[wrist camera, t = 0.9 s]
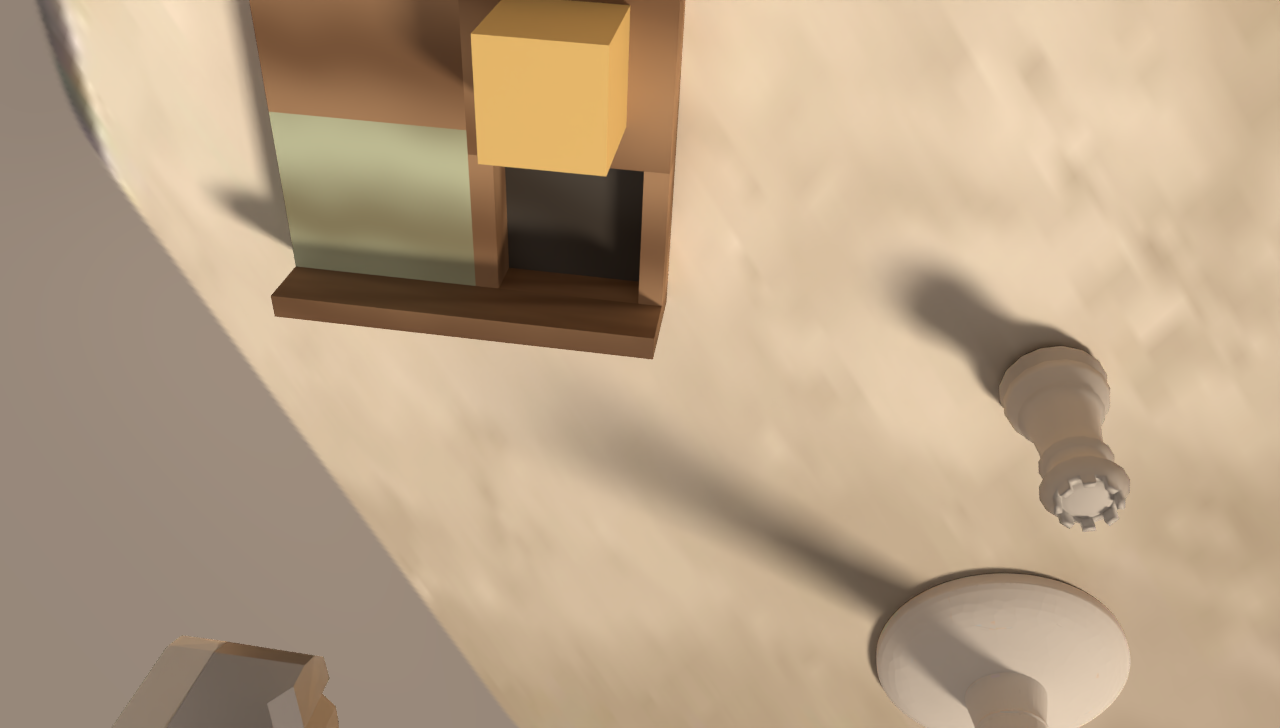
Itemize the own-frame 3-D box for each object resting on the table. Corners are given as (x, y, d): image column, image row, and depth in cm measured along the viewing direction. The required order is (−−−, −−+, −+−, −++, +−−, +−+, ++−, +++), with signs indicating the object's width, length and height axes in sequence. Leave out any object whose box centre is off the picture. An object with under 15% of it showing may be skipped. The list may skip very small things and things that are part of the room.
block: (505, -5, 37) (470, 33, 33) (630, 5, 36) (609, 45, 33) (509, 115, 39) (477, 164, 36) (626, 126, 39) (606, 176, 35)
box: (224, -315, 34) (152, -310, 31) (703, -289, 33) (688, -281, 29) (317, 264, 47) (275, 316, 43) (666, 301, 45) (652, 359, 42)
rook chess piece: (975, 378, 45) (1001, 501, 39) (1064, 321, 43) (1107, 441, 37) (1037, 439, 47) (1072, 567, 40) (1126, 385, 45) (1179, 512, 38)
